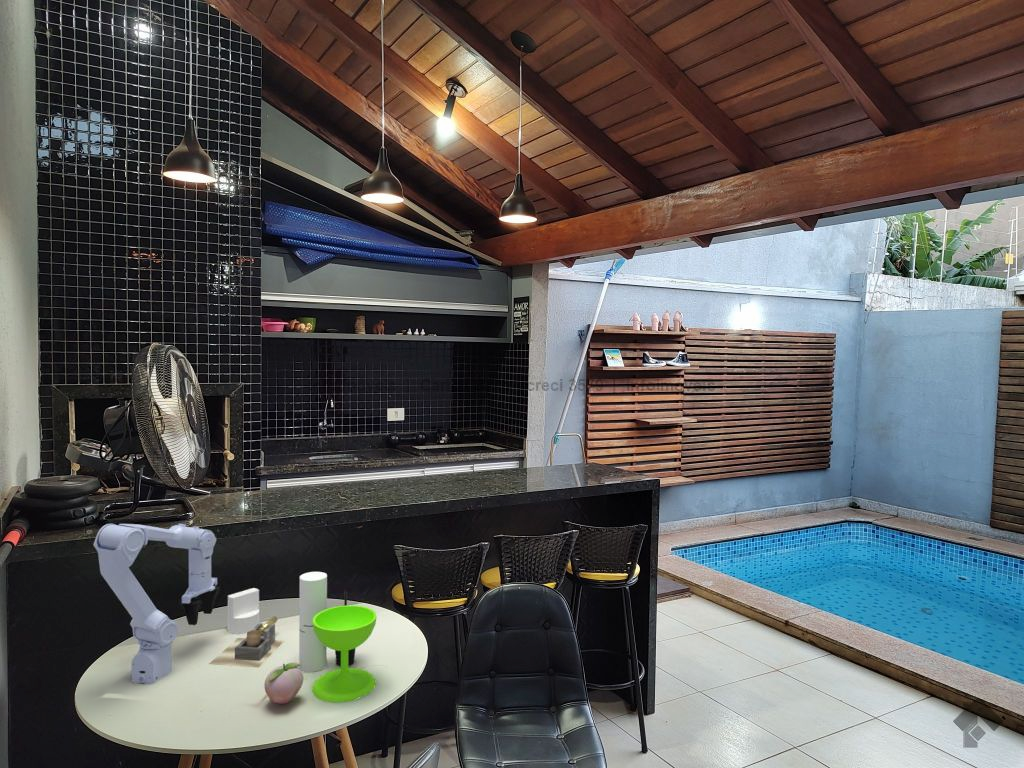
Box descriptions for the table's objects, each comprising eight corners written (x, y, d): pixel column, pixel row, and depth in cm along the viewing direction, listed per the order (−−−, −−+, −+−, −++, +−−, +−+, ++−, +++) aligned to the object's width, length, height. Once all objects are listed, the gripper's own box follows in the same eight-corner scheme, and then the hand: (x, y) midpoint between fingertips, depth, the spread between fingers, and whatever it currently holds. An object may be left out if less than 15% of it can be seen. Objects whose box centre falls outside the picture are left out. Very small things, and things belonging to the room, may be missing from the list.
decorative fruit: (282, 690, 167) (282, 652, 166) (308, 697, 164) (309, 658, 163) (255, 709, 158) (255, 668, 158) (283, 716, 155) (283, 675, 155)
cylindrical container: (318, 673, 176) (319, 581, 174) (294, 670, 177) (294, 579, 176) (331, 661, 183) (331, 573, 181) (307, 658, 184) (307, 570, 183)
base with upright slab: (237, 640, 194) (237, 601, 193) (221, 632, 199) (221, 593, 199) (265, 630, 201) (265, 592, 200) (248, 622, 207) (249, 585, 206)
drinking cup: (324, 664, 181) (325, 593, 179) (344, 653, 187) (344, 584, 186) (346, 671, 177) (346, 599, 176) (365, 660, 184) (365, 590, 183)
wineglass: (358, 664, 181) (359, 600, 180) (387, 688, 169) (387, 620, 168) (302, 682, 171) (302, 614, 170) (328, 709, 159) (328, 636, 158)
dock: (258, 671, 176) (258, 648, 176) (208, 668, 177) (208, 645, 177) (284, 644, 192) (284, 623, 192) (238, 641, 193) (238, 621, 193)
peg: (257, 656, 182) (258, 635, 181) (244, 656, 181) (245, 635, 181) (261, 651, 185) (262, 630, 185) (248, 650, 185) (249, 629, 185)
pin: (264, 635, 188) (264, 628, 188) (257, 635, 188) (257, 628, 188) (277, 622, 196) (277, 616, 196) (271, 622, 197) (271, 615, 196)
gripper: (199, 581, 177) (199, 630, 178) (227, 563, 191) (227, 609, 192) (174, 579, 178) (174, 629, 178) (204, 562, 192) (204, 607, 193)
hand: (200, 618), depth 185 cm, fingers open, 7 cm apart
